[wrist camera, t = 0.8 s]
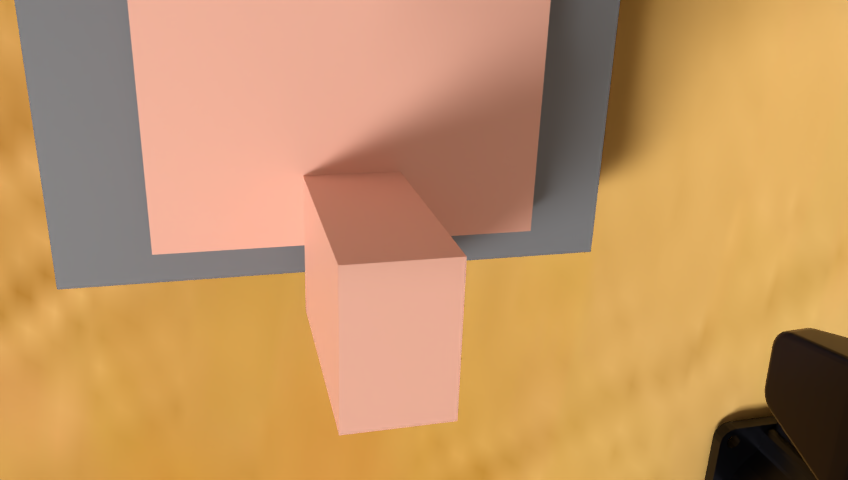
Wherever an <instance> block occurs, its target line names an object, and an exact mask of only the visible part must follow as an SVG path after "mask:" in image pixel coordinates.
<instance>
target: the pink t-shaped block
mask: <svg viewBox="0 0 848 480" xmlns="http://www.w3.org/2000/svg"><path fill="white" fill-rule="evenodd" d="M127 3H128V13H129V24H130V34H131V44H132V54H133V64H134V75H135V85H136V95H137V105H138V115H139V126H140V136H141V146H142V156H143V166H144V177H145V187H146V197H147V207H148V217H149V228H150V238H151V248H152V255H157V254H173V253H189V252H205V251H221V250H237V249H253V248H269V247H285V246H300V245H304V246H305V289H306V312H307V316H308V320H309V324H310V327H311V331H312V335H313V339H314V342H315V346H316V350H317V353H318V357H319V361H320V365H321V368H322V372H323V376H324V380H325V383H326V387H327V391H328V395H329V398H330V402H331V406H332V410H333V413H334V417H335V421H336V425H337V428H338V432H339V435H346V434H354V433H362V432H370V431H379V430H387V429H395V428H403V427H412V426H420V425H428V424H436V423H444V422H453V421H457V418H458V401H459V383H460V366H461V348H462V331H463V313H464V295H465V278H466V260H467V256H466V255H465V254H464V252H463V251H462V250H461V249H460V247H459V246H458V245H457V243H456V242H455V241H454V240H453V238H452V237H451V236H459V235H475V234H491V233H507V232H523V231H531V220H532V209H533V198H534V186H535V175H536V163H537V152H538V140H539V129H540V117H541V106H542V95H543V83H544V72H545V60H546V49H547V37H548V26H549V14H550V3H551V0H127Z"/></svg>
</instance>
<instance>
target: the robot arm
mask: <svg viewBox="0 0 848 480" xmlns="http://www.w3.org/2000/svg"><path fill="white" fill-rule="evenodd" d="M765 398H766V402H767V404H768V407H769V409H770V411H771V412H772V414H773V415H774V416H770V417H763V418H755V419H748V420H740V421H733V422H727V423H724V424H722V425H721V426H720V427H718V429H717V430H716V431H715V433H714V436H713V440H712V445H711V451H710V456H709V461H708V466H707V471H706V476H705V480H848V338H846V337H843V336H839V335H835V334H832V333H828V332H824V331H820V330H817V329H812V328H804V329H797V330H791V331H785V332H782V333H780V334H779V335H778V336H777V337H776V338H775V340H774V342H773V346H772V352H771V357H770V362H769V368H768V373H767V379H766V384H765ZM731 436H732V437H731ZM730 437H731V438H730ZM729 438H730V439H729ZM728 439H729V440H728Z"/></svg>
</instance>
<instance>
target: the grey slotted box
mask: <svg viewBox="0 0 848 480" xmlns="http://www.w3.org/2000/svg"><path fill="white" fill-rule="evenodd" d="M14 1H15V7H16V14H17V21H18V28H19V35H20V41H21V48H22V55H23V62H24V68H25V75H26V82H27V89H28V96H29V102H30V109H31V116H32V123H33V129H34V136H35V143H36V150H37V157H38V163H39V170H40V177H41V184H42V190H43V197H44V204H45V211H46V218H47V224H48V231H49V238H50V245H51V251H52V258H53V265H54V272H55V279H56V285H57V289H71V288H85V287H99V286H113V285H127V284H141V283H155V282H169V281H183V280H197V279H212V278H226V277H240V276H254V275H268V274H282V273H296V272H305V246H304V245H300V246H285V247H269V248H253V249H237V250H221V251H205V252H189V253H173V254H157V255H152V248H151V238H150V228H149V217H148V207H147V197H146V187H145V177H144V166H143V156H142V146H141V136H140V126H139V115H138V105H137V95H136V85H135V75H134V64H133V54H132V44H131V34H130V24H129V13H128V3H127V0H14ZM619 6H620V0H551V3H550V14H549V26H548V37H547V49H546V60H545V72H544V83H543V95H542V106H541V117H540V129H539V140H538V152H537V163H536V175H535V186H534V198H533V209H532V220H531V231H523V232H507V233H491V234H475V235H459V236H451V237H452V238H453V240H454V241H455V242H456V243H457V245H458V246H459V247H460V249H461V250H462V251H463V252H464V254H465V255H466V256H467V260H479V259H493V258H507V257H522V256H536V255H550V254H564V253H578V252H591V244H592V236H593V227H594V219H595V210H596V202H597V193H598V185H599V176H600V168H601V159H602V151H603V142H604V134H605V125H606V117H607V108H608V100H609V91H610V83H611V74H612V66H613V57H614V49H615V40H616V32H617V23H618V15H619Z"/></svg>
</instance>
